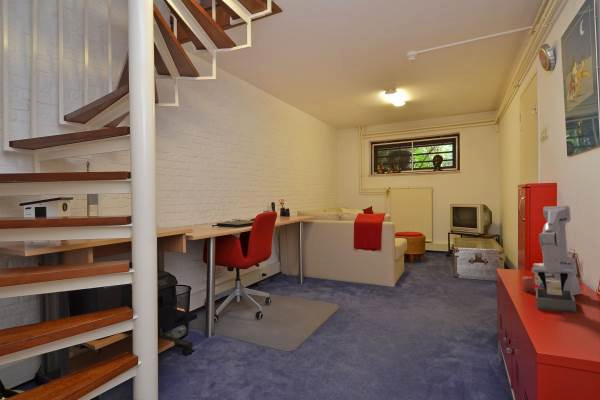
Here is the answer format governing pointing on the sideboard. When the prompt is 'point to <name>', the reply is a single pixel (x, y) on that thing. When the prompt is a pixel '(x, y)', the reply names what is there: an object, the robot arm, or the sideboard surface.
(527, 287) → the capsule
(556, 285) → the cube
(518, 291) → the sideboard surface
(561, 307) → the tote
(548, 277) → the ink box
